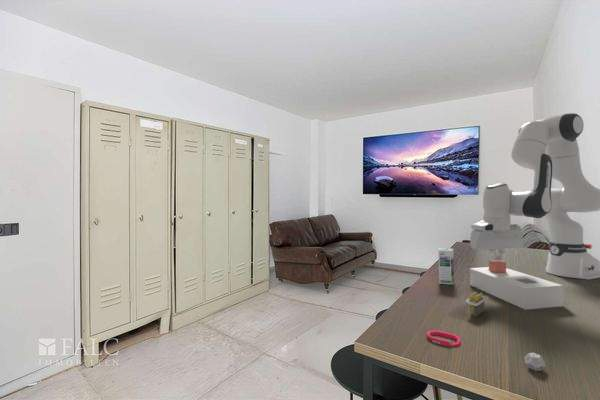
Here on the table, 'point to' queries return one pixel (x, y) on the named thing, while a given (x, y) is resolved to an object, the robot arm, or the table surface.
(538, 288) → the block
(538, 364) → the grey irregular lump
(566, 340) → the table surface
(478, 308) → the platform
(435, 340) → the fitness band
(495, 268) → the red plug
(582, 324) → the table surface
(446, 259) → the syrup box
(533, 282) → the gray rectangular block
